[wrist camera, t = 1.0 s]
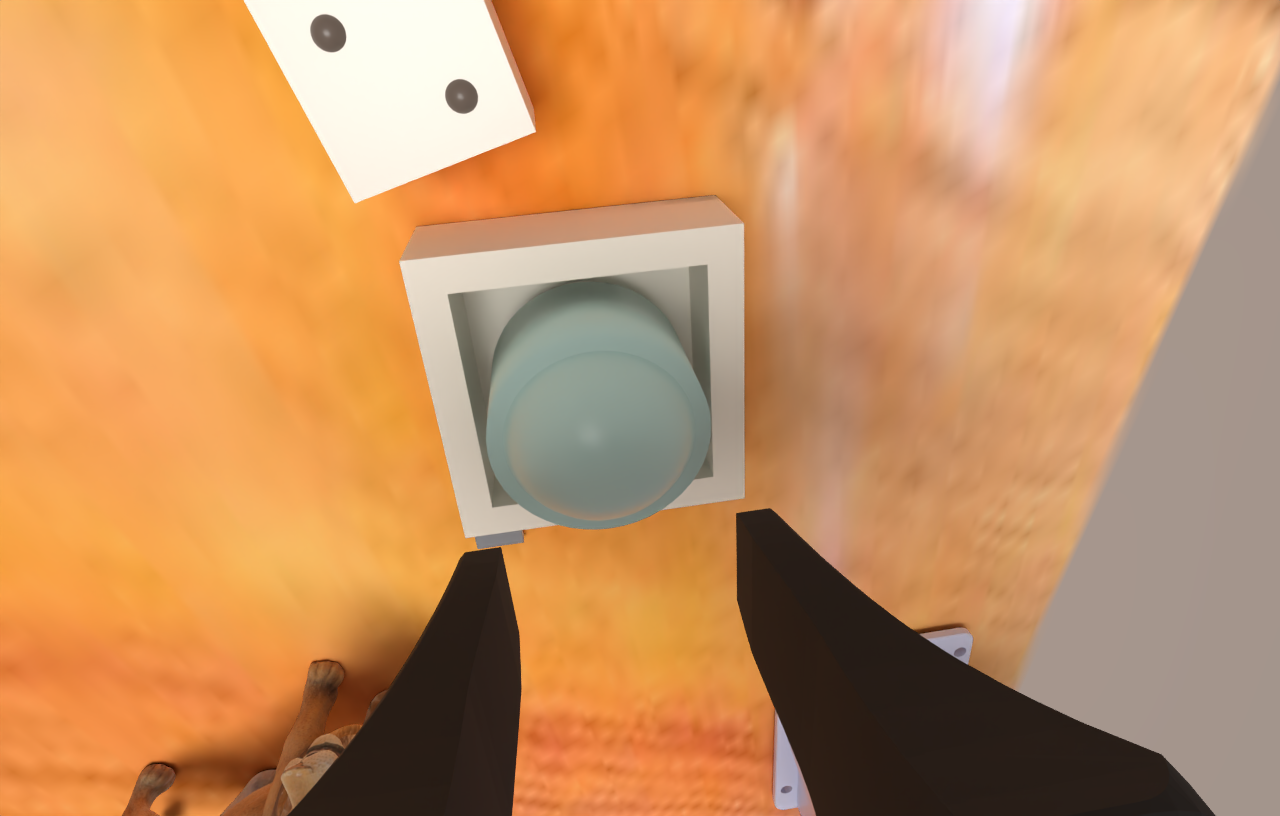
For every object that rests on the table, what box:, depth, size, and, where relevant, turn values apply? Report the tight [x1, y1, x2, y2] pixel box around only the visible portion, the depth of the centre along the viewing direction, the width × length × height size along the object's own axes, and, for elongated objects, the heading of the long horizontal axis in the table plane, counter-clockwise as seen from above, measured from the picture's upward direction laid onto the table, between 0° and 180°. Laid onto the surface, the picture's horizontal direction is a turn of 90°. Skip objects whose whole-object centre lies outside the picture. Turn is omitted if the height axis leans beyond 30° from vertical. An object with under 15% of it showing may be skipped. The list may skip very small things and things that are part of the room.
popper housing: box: [399, 195, 745, 538], centre depth 20 cm, size 8×8×3 cm
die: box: [244, 0, 536, 203], centre depth 16 cm, size 4×4×4 cm
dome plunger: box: [486, 282, 711, 529], centre depth 18 cm, size 5×5×5 cm
